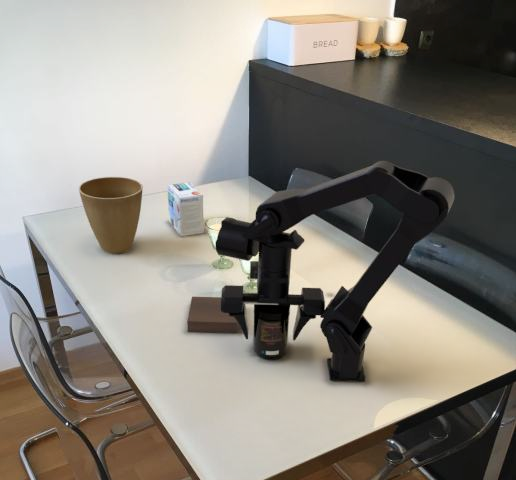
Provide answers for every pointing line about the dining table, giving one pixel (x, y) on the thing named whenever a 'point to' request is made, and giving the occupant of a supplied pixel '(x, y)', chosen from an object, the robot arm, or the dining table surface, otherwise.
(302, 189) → the robot arm
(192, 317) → the walnut block
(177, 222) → the light bulb box
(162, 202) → the dining table surface
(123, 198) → the plant pot
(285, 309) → the supplement container
